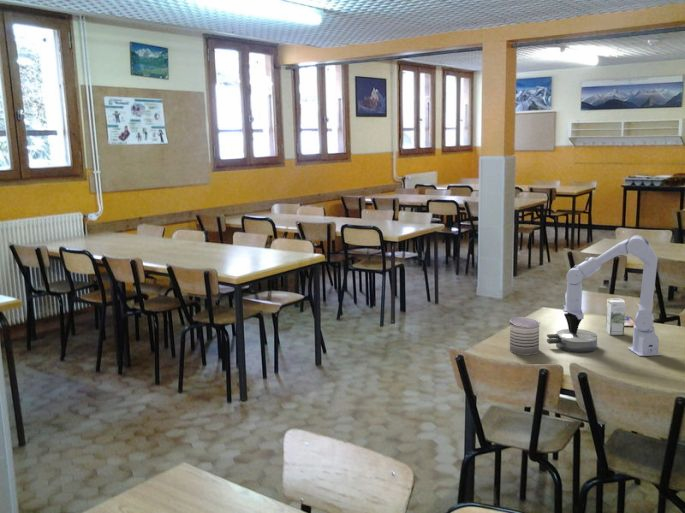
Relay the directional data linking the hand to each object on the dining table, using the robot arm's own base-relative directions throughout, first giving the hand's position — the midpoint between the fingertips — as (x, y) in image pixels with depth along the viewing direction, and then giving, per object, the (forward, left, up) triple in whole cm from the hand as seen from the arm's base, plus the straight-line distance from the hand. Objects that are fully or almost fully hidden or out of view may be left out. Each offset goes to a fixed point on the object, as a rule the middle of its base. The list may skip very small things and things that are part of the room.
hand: (572, 332), depth 257 cm
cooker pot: (-4, +2, -5) cm, 6 cm away
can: (-5, +21, -5) cm, 22 cm away
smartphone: (+25, -34, -6) cm, 43 cm away
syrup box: (+10, -22, -5) cm, 25 cm away
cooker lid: (-3, +2, -1) cm, 4 cm away
